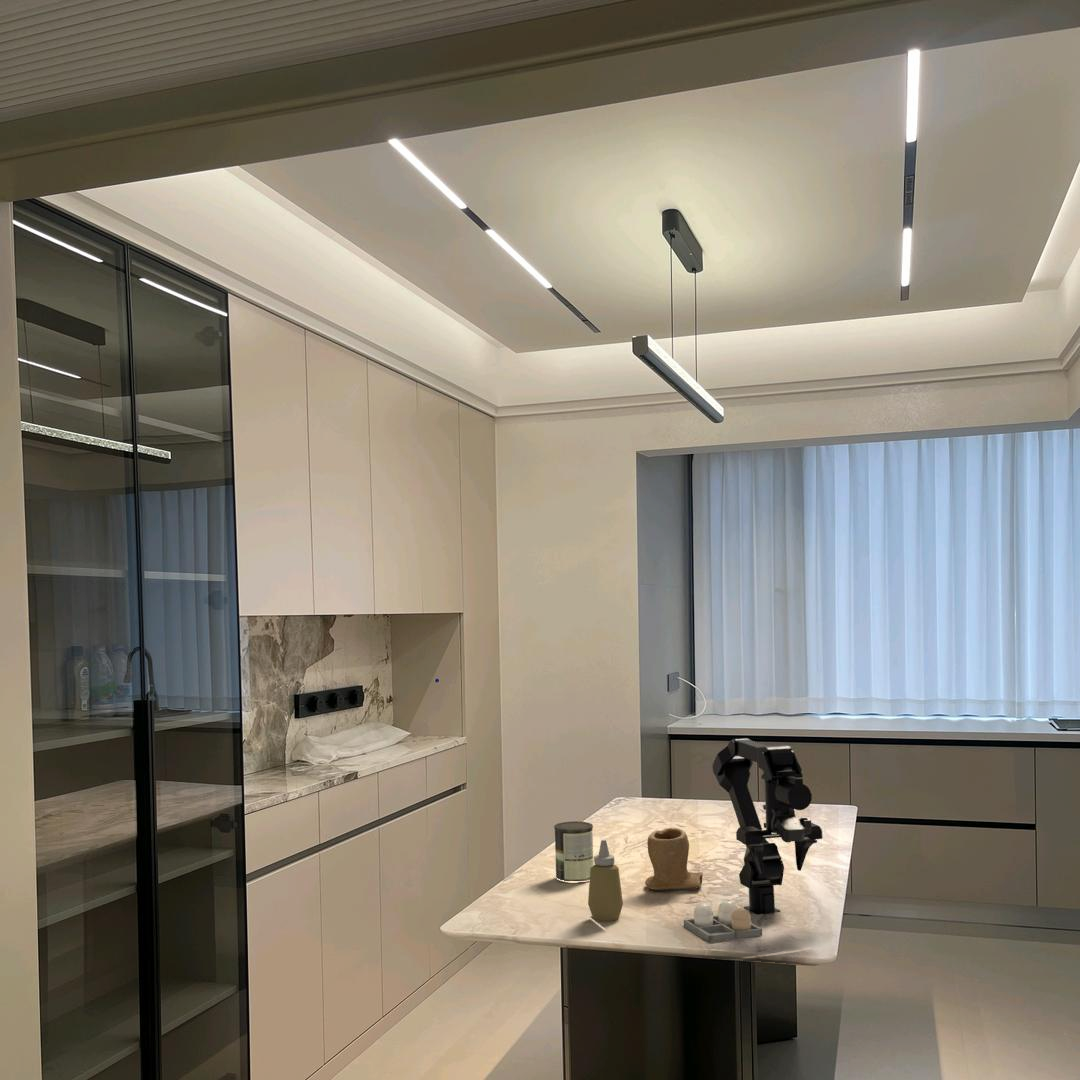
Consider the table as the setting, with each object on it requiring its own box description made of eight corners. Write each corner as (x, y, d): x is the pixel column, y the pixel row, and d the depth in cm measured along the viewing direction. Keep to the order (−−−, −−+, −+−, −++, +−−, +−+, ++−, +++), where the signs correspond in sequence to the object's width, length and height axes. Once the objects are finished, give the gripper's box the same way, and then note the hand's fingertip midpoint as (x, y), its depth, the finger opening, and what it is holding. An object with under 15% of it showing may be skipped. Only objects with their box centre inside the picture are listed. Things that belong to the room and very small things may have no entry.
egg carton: (683, 928, 238) (683, 919, 238) (734, 921, 241) (734, 913, 242) (709, 944, 226) (709, 935, 226) (762, 937, 229) (762, 929, 230)
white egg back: (691, 926, 237) (690, 902, 237) (708, 924, 238) (707, 900, 238) (699, 932, 233) (698, 907, 233) (716, 929, 234) (715, 905, 234)
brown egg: (728, 931, 233) (727, 906, 233) (745, 929, 234) (744, 904, 235) (737, 936, 229) (736, 911, 229) (755, 934, 230) (754, 909, 231)
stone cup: (647, 896, 265) (645, 834, 266) (644, 883, 277) (642, 825, 278) (708, 895, 264) (706, 833, 265) (702, 882, 276) (700, 824, 277)
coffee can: (548, 880, 282) (546, 826, 283) (569, 872, 290) (568, 819, 291) (580, 885, 276) (579, 830, 277) (601, 877, 285) (600, 823, 285)
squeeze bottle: (607, 912, 251) (605, 835, 252) (630, 920, 245) (628, 840, 246) (581, 919, 246) (579, 840, 247) (604, 927, 240) (602, 846, 241)
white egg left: (715, 923, 239) (714, 899, 239) (732, 921, 240) (731, 897, 240) (724, 928, 235) (723, 904, 235) (741, 926, 236) (740, 902, 236)
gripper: (755, 811, 231) (757, 884, 230) (833, 805, 235) (836, 877, 234) (734, 802, 242) (736, 871, 241) (809, 796, 246) (811, 865, 245)
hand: (780, 871), depth 240 cm, fingers open, 9 cm apart
